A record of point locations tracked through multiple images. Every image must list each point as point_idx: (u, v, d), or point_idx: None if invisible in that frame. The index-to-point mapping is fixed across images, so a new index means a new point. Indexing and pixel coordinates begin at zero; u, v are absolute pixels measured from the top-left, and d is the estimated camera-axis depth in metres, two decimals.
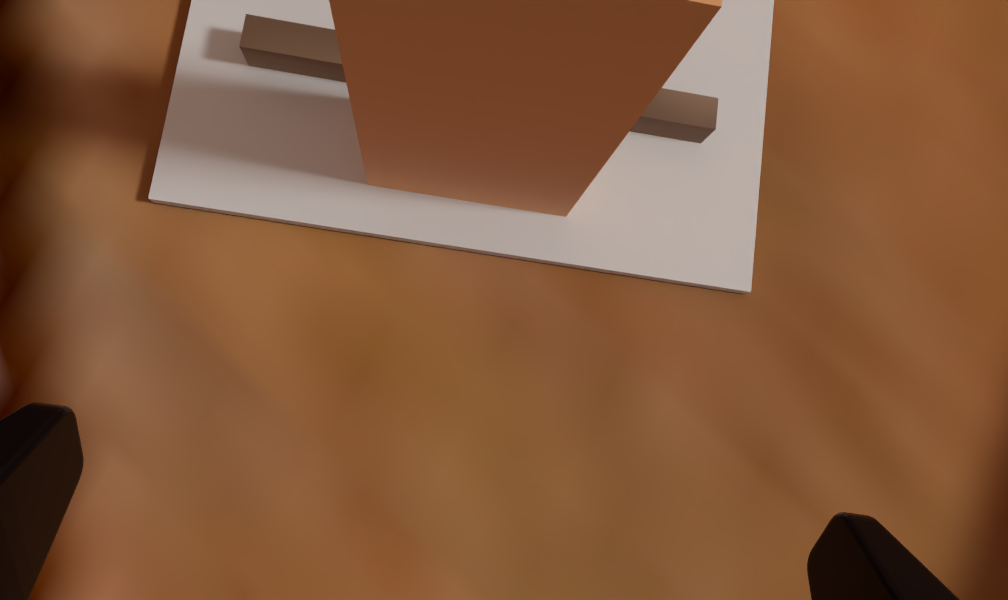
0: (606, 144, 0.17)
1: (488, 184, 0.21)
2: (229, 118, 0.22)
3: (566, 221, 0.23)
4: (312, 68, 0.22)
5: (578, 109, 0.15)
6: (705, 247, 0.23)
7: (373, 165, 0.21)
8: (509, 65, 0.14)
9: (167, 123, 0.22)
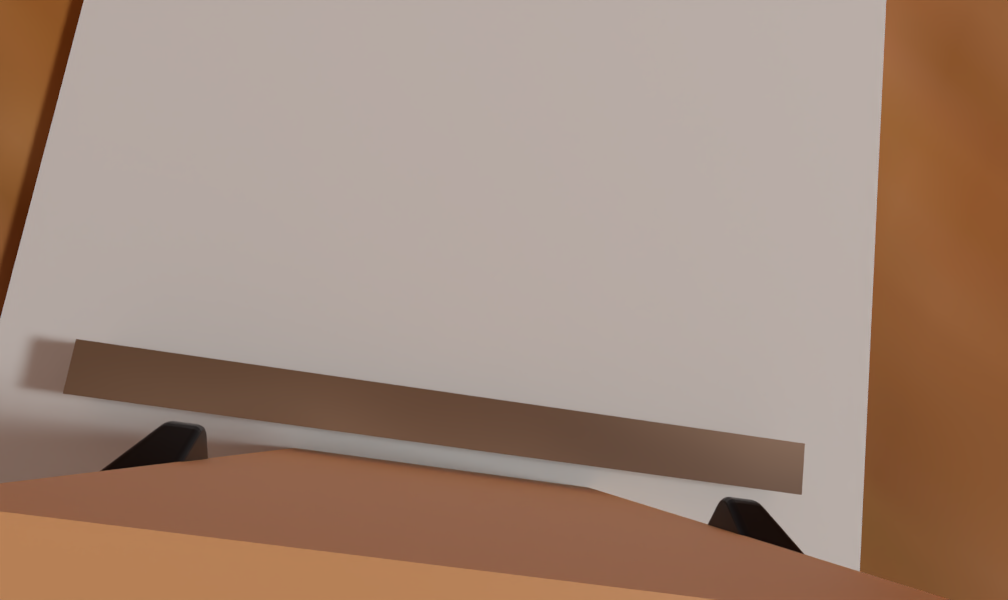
0: None
1: None
2: None
3: None
4: None
5: None
6: None
7: None
8: None
9: None
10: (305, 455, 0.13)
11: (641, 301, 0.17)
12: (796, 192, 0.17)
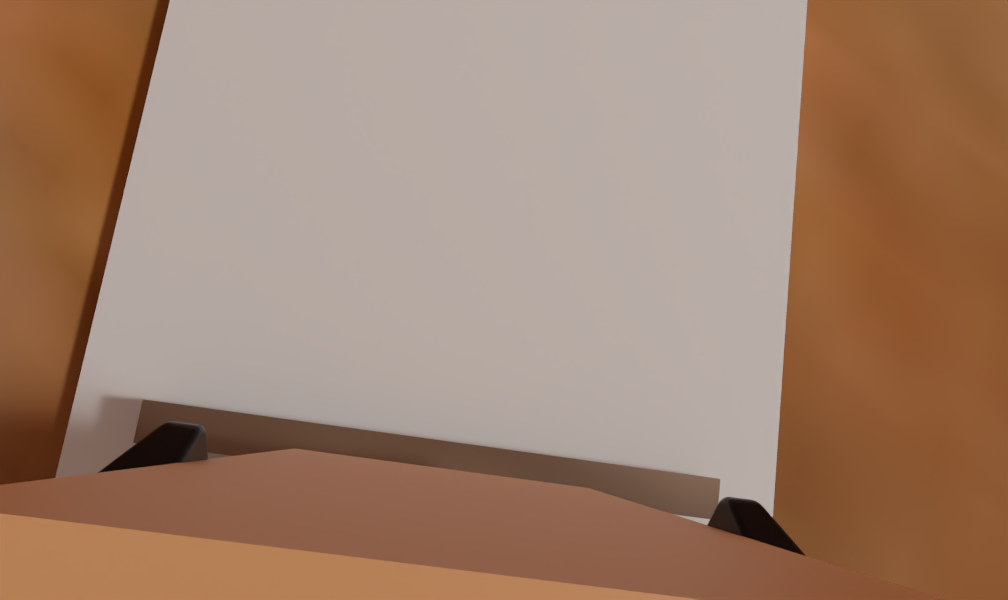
0: None
1: None
2: None
3: None
4: None
5: None
6: None
7: None
8: None
9: None
10: (305, 456, 0.13)
11: (593, 361, 0.20)
12: (721, 269, 0.21)
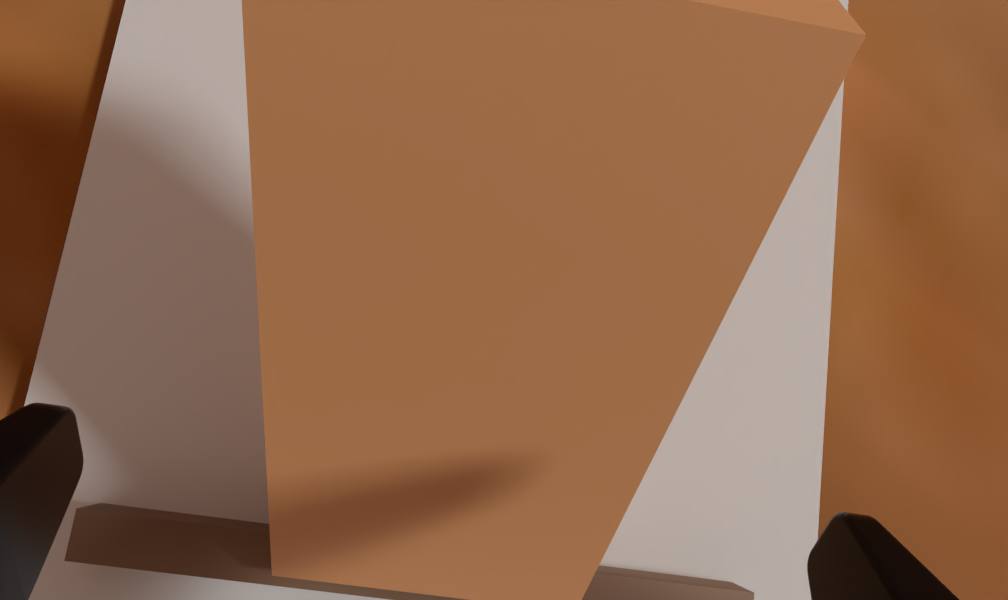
0: (653, 418, 0.11)
1: (461, 546, 0.14)
2: None
3: None
4: None
5: (618, 334, 0.10)
6: None
7: (285, 524, 0.14)
8: (521, 232, 0.09)
9: None
10: None
11: None
12: (752, 339, 0.19)
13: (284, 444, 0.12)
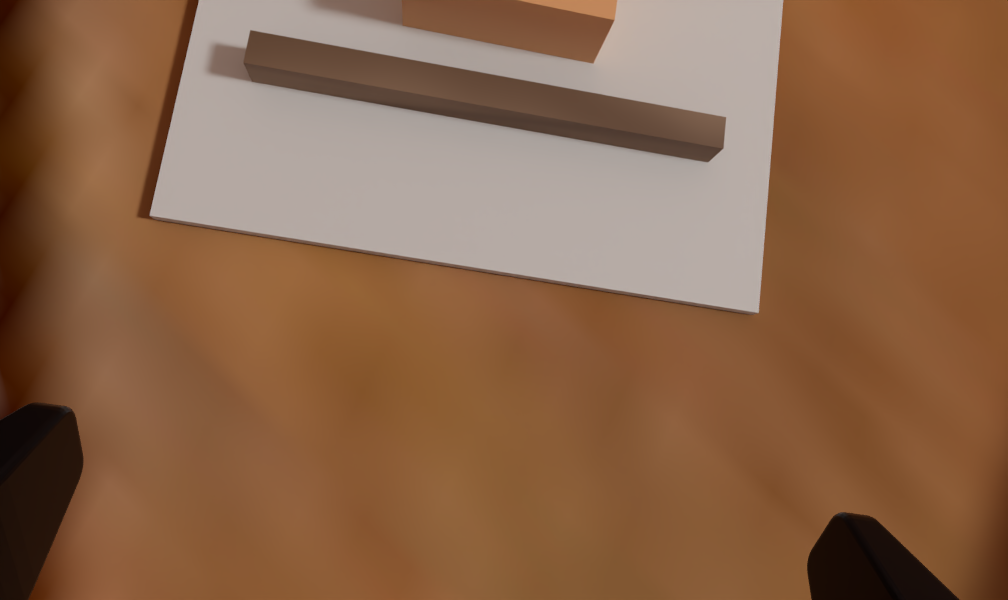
0: None
1: None
2: (232, 134, 0.22)
3: (572, 240, 0.23)
4: (317, 84, 0.22)
5: None
6: (712, 267, 0.23)
7: None
8: None
9: (169, 139, 0.22)
10: None
11: (618, 37, 0.24)
12: None
13: None
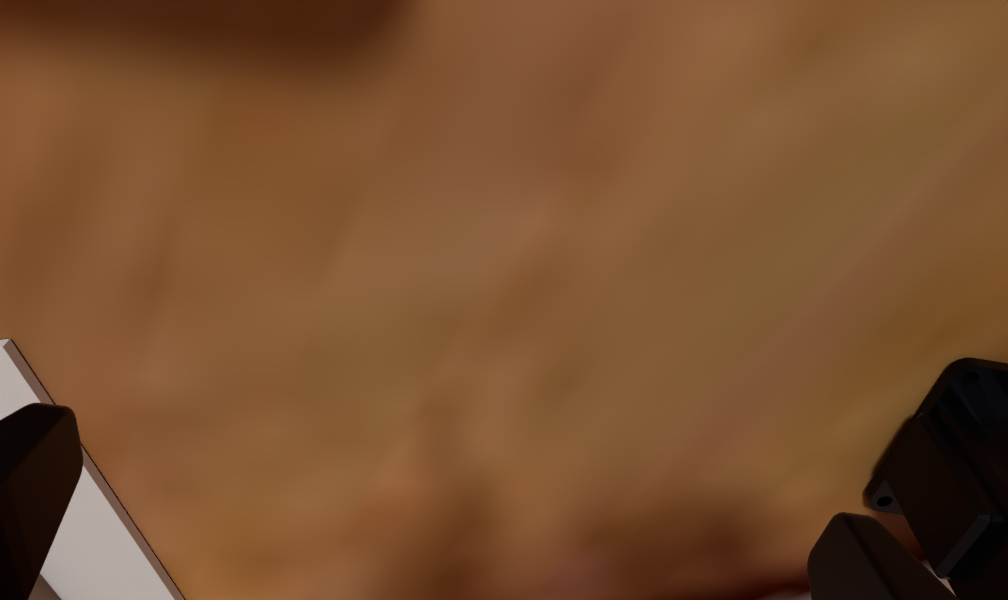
0: None
1: None
2: None
3: None
4: None
5: None
6: None
7: None
8: None
9: None
10: None
11: None
12: None
13: None
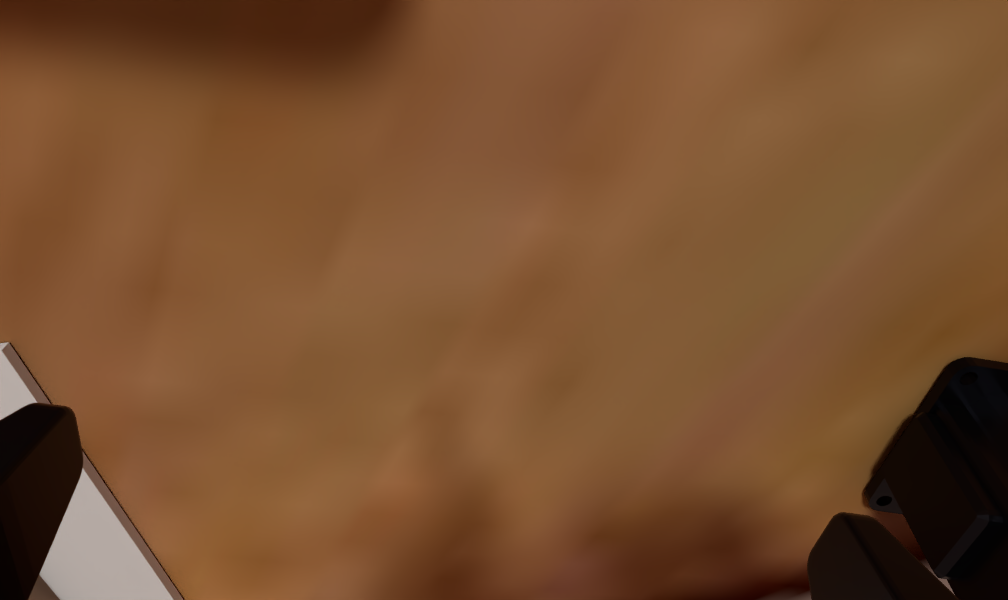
0: None
1: None
2: None
3: None
4: None
5: None
6: None
7: None
8: None
9: None
10: None
11: None
12: None
13: None
